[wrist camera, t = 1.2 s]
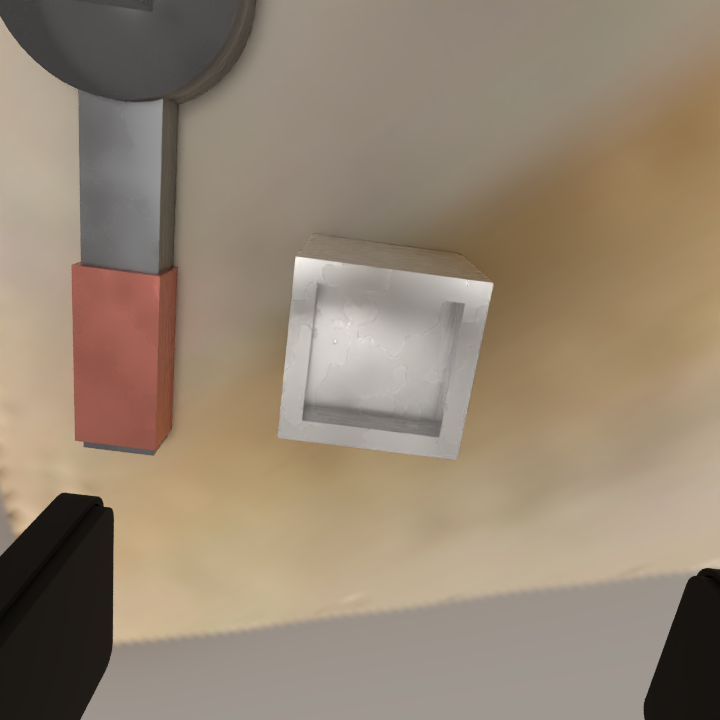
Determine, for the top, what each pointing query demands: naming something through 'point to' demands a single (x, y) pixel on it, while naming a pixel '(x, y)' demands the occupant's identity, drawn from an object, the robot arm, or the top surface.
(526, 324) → the top surface
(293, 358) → the socket
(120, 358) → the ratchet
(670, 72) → the top surface
